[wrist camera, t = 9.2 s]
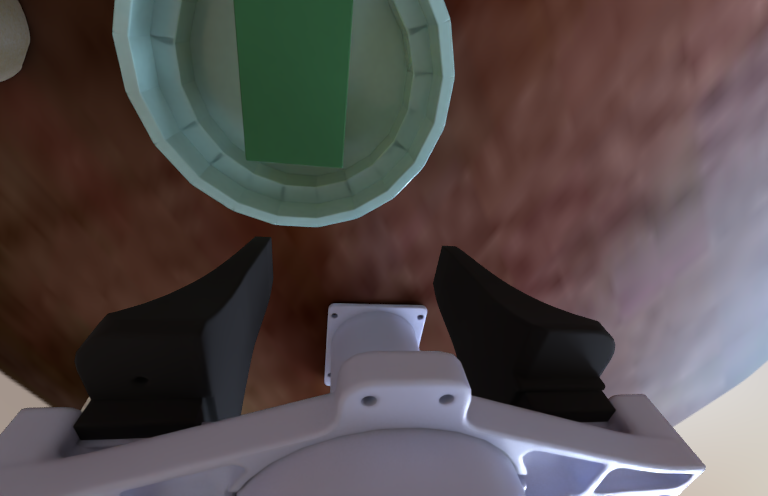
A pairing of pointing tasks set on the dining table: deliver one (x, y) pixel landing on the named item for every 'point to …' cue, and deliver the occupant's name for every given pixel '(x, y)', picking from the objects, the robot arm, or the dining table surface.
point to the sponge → (294, 79)
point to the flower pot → (12, 38)
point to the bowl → (224, 110)
